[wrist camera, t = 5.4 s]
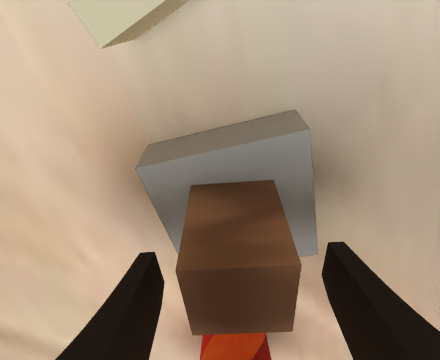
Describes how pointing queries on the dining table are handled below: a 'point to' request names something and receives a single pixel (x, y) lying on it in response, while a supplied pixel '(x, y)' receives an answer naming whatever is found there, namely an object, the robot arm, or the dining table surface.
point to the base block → (236, 171)
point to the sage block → (121, 17)
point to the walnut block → (237, 260)
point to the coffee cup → (235, 347)
